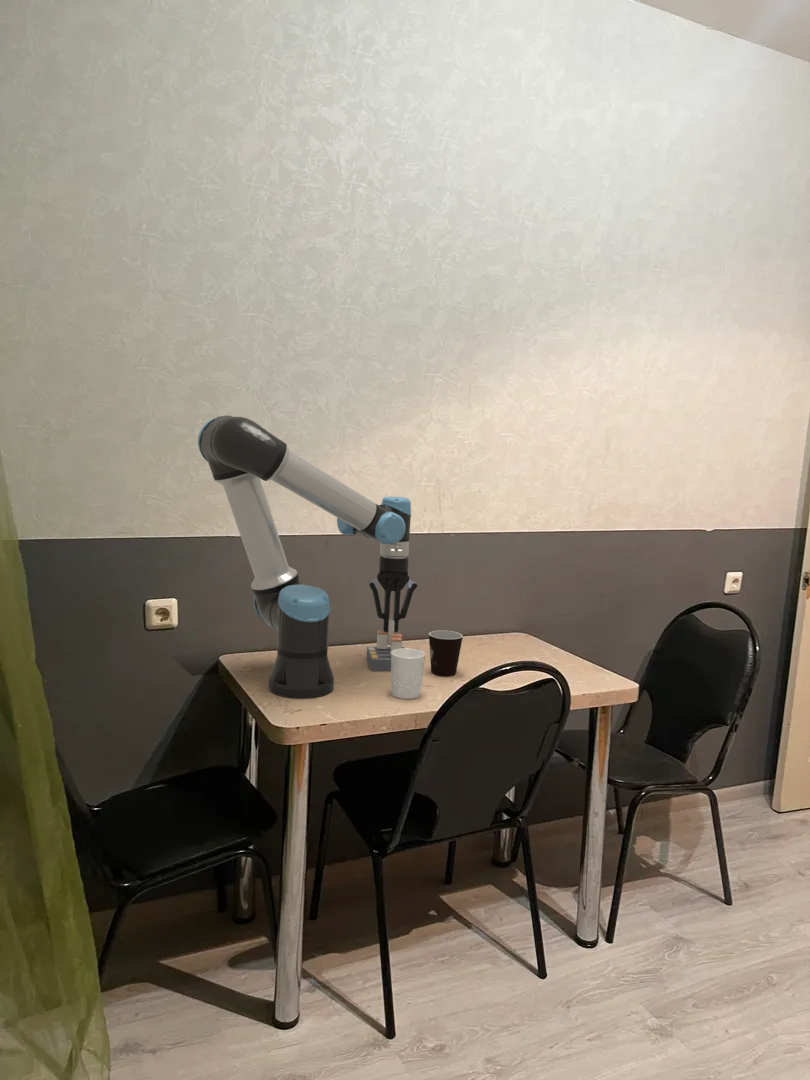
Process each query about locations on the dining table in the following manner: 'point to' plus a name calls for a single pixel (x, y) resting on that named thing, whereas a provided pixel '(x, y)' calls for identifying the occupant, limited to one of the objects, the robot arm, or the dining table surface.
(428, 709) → the dining table surface
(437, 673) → the coffee mug
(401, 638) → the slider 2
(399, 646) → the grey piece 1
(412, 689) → the white cup
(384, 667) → the grey slotted tray
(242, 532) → the robot arm
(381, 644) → the slider
